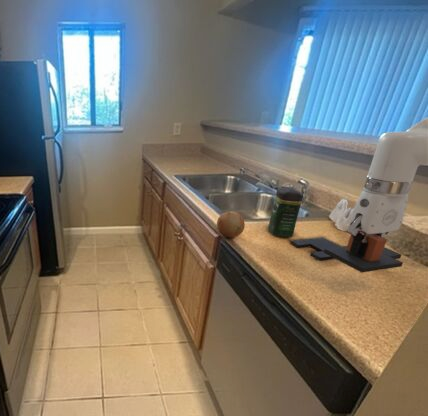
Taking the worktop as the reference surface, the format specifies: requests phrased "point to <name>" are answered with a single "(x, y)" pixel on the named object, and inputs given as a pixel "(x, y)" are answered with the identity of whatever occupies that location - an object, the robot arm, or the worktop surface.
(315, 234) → the worktop surface
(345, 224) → the shaker set
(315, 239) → the charcoal pad
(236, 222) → the brown ball
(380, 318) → the worktop surface
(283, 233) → the coffee jar
